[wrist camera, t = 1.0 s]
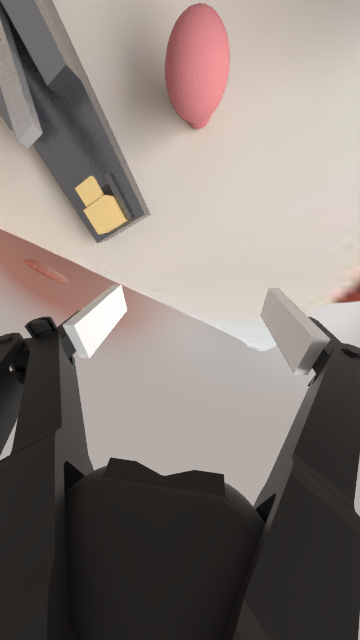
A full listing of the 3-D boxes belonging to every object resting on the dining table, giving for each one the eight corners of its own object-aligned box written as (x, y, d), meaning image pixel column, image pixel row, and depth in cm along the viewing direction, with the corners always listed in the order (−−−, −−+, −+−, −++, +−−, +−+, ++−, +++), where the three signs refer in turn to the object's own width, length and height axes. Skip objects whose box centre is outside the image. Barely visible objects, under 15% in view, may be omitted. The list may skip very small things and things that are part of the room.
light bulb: (174, 77, 24) (154, -23, 14) (224, 71, 23) (241, -41, 13) (176, 146, 27) (162, 108, 17) (219, 143, 27) (229, 100, 17)
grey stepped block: (-10, 52, 24) (-76, 1, 18) (40, -25, 20) (-24, -120, 15) (106, 240, 37) (89, 245, 31) (150, 214, 33) (139, 214, 27)
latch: (84, 193, 29) (70, 190, 26) (104, 177, 27) (93, 172, 24) (107, 232, 32) (98, 234, 29) (127, 220, 31) (119, 221, 28)
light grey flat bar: (-13, 19, 20) (-25, 5, 19) (0, -3, 19) (-12, -20, 18) (27, 149, 20) (17, 141, 19) (42, 133, 19) (32, 124, 18)
